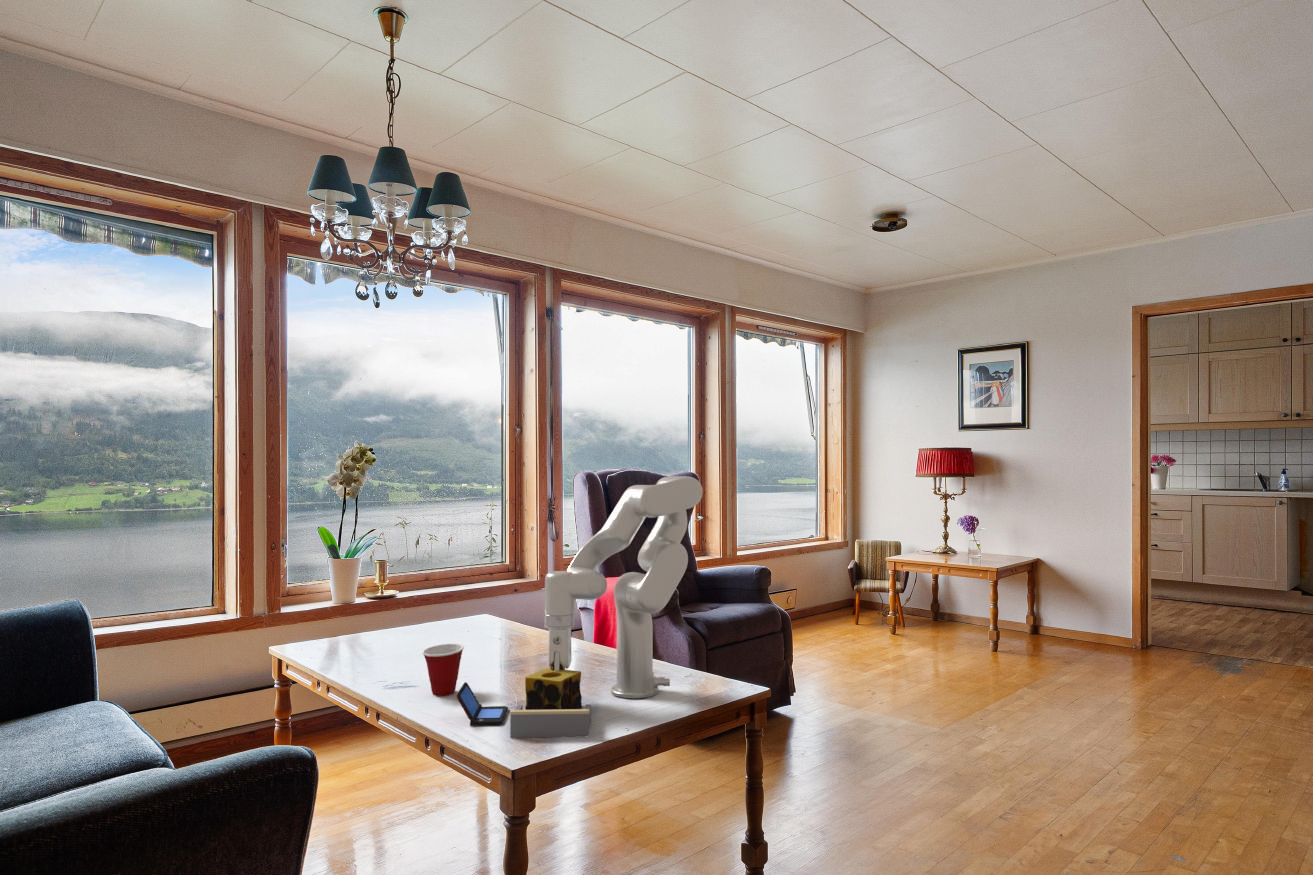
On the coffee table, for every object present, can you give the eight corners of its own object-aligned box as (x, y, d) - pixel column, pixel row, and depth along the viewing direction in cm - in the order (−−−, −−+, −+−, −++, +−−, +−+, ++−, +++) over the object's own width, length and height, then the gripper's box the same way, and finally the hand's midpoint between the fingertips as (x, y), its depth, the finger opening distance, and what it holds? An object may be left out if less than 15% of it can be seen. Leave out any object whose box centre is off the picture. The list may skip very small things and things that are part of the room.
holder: (590, 721, 180) (590, 697, 180) (588, 736, 170) (588, 710, 170) (517, 722, 179) (517, 698, 180) (510, 737, 169) (510, 711, 169)
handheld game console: (502, 726, 177) (502, 694, 178) (454, 727, 176) (455, 695, 177) (509, 710, 190) (509, 679, 190) (464, 711, 189) (465, 680, 189)
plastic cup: (414, 692, 204) (415, 647, 205) (452, 685, 211) (453, 641, 212) (431, 701, 196) (432, 654, 196) (470, 694, 203) (471, 648, 203)
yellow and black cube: (582, 712, 187) (583, 671, 187) (561, 724, 178) (561, 681, 178) (547, 707, 191) (547, 666, 191) (524, 719, 182) (524, 676, 182)
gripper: (571, 626, 187) (570, 703, 186) (576, 615, 201) (576, 686, 201) (540, 626, 186) (539, 703, 186) (548, 615, 201) (547, 686, 200)
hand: (558, 694), depth 193 cm, fingers closed
